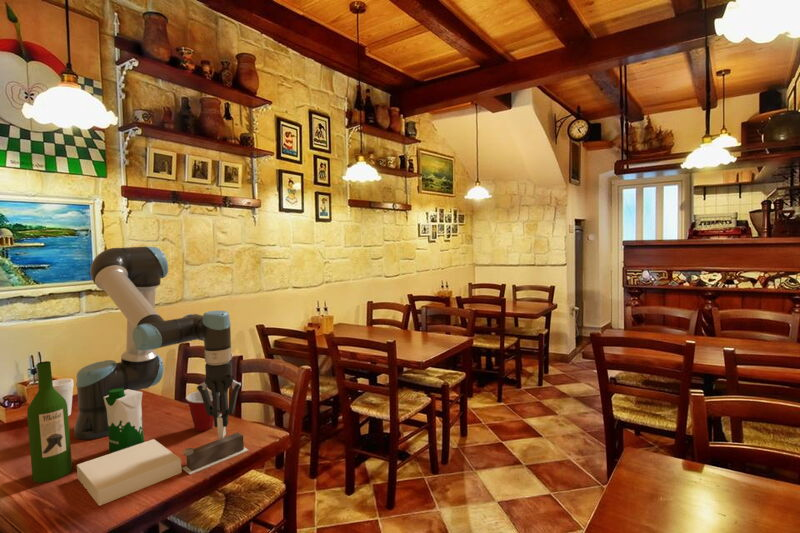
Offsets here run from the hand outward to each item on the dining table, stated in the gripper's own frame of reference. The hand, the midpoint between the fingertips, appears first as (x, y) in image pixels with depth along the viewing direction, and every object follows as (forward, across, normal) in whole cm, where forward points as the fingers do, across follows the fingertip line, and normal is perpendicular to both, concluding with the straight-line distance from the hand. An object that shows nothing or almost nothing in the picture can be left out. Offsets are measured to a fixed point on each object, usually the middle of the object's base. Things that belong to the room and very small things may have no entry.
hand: (221, 436), depth 137 cm
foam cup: (+6, -73, +37) cm, 82 cm away
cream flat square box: (+5, -22, -12) cm, 25 cm away
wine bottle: (+6, -45, -8) cm, 46 cm away
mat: (+5, 0, -5) cm, 7 cm away
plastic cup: (+5, -12, +18) cm, 23 cm away
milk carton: (+6, -31, +5) cm, 32 cm away
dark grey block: (+4, -1, -5) cm, 7 cm away
